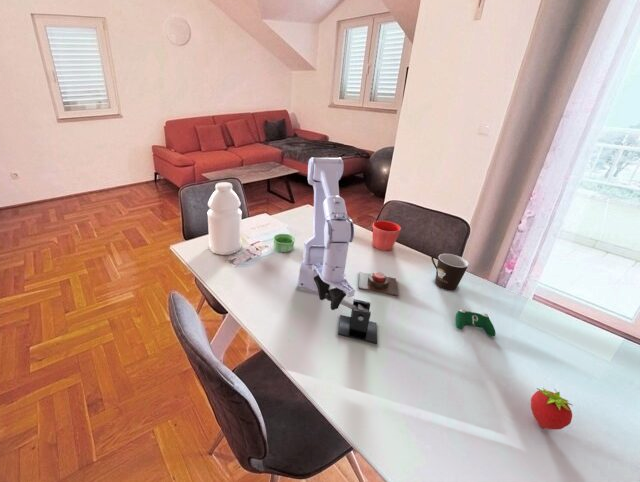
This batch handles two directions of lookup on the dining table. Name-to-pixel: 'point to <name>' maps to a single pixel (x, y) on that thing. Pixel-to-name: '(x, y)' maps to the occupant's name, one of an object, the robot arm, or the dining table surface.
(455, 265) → the coffee mug
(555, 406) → the strawberry
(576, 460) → the dining table surface
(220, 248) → the bottle
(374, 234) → the flower pot
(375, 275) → the button
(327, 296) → the lever
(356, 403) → the dining table surface
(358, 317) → the bracket
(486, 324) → the gaming controller
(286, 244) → the ramekin
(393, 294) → the button block
